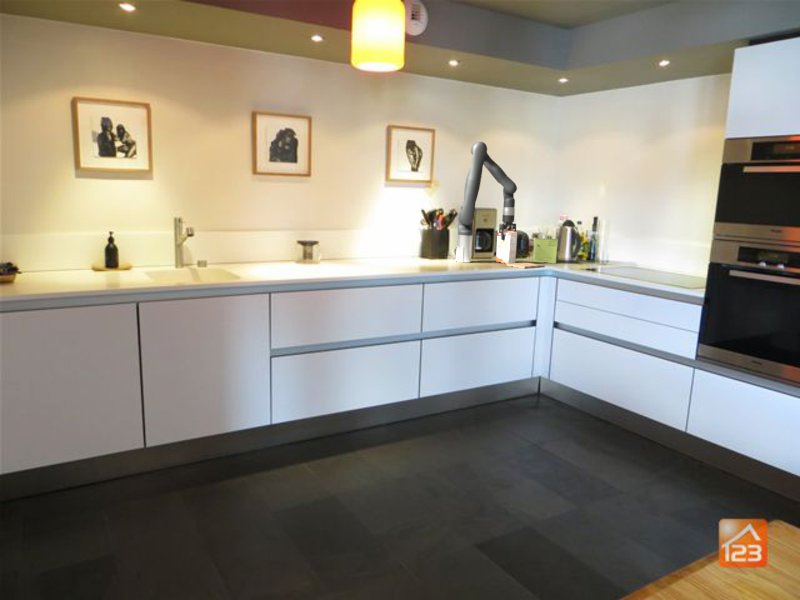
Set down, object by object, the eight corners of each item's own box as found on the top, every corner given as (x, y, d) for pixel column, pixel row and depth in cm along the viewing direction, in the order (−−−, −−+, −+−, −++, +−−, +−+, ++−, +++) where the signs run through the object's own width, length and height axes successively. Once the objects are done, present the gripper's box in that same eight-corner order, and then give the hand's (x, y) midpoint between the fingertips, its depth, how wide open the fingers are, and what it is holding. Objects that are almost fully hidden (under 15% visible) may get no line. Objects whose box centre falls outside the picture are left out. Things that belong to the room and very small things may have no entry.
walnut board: (524, 268, 350) (524, 266, 350) (506, 265, 360) (506, 263, 360) (544, 266, 363) (544, 265, 363) (526, 264, 373) (526, 262, 373)
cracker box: (495, 262, 380) (497, 230, 376) (502, 261, 382) (505, 230, 379) (507, 264, 367) (510, 231, 364) (515, 264, 370) (517, 231, 366)
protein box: (555, 263, 386) (558, 240, 383) (532, 261, 391) (534, 238, 388) (556, 261, 396) (558, 239, 393) (533, 260, 400) (535, 237, 398)
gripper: (511, 214, 377) (509, 239, 379) (496, 214, 367) (495, 239, 370) (520, 214, 371) (518, 240, 374) (505, 214, 362) (504, 240, 365)
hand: (507, 239), depth 372 cm, fingers open, 8 cm apart
